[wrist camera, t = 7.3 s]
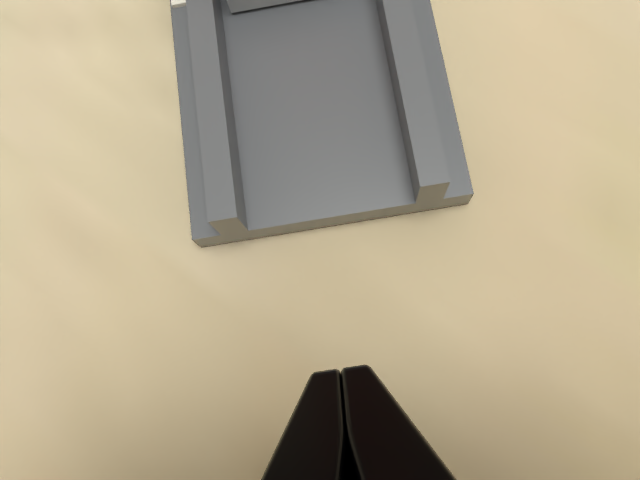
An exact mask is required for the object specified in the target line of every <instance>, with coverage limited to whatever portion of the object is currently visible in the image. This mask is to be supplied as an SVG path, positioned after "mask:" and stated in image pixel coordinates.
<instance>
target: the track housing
mask: <svg viewBox="0 0 640 480" xmlns="http://www.w3.org/2000/svg"><path fill="white" fill-rule="evenodd" d="M170 6H171V16H172V27H173V38H174V49H175V60H176V71H177V81H178V92H179V103H180V114H181V125H182V135H183V146H184V157H185V168H186V179H187V190H188V200H189V211H190V222H191V233H192V240H193V241H194V242H195V243H197V244H198V245H199V246H200V247H206V246H212V245H218V244H224V243H230V242H237V241H243V240H249V239H255V238H261V237H267V236H273V235H279V234H286V233H292V232H298V231H304V230H310V229H316V228H322V227H328V226H335V225H341V224H347V223H353V222H359V221H365V220H371V219H377V218H383V217H390V216H396V215H402V214H408V213H414V212H420V211H426V210H432V209H439V208H445V207H451V206H457V205H463V204H468V203H469V201H470V199H471V197H472V196H473V194H474V193H473V189H472V184H471V180H470V175H469V171H468V167H467V162H466V158H465V153H464V149H463V145H462V140H461V136H460V131H459V127H458V122H457V118H456V114H455V109H454V105H453V100H452V96H451V91H450V87H449V83H448V78H447V74H446V69H445V65H444V60H443V56H442V52H441V47H440V43H439V38H438V34H437V29H436V25H435V21H434V16H433V12H432V7H431V3H430V0H300V1H295V2H289V3H284V4H278V5H273V6H267V7H262V8H256V9H251V10H245V11H240V12H234V13H231V11H230V8H229V6H228V3H227V0H170Z"/></svg>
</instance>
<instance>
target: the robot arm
mask: <svg viewBox="0 0 640 480" xmlns="http://www.w3.org/2000/svg"><path fill="white" fill-rule="evenodd" d="M261 480H456V478H455V477H454V476H453V474H452V473H451V472H450V471H449V469H448V468H447V467H446V465H445V464H444V463H443V461H442V460H441V459H440V457H439V456H438V455H437V454H436V452H435V451H434V450H433V448H432V447H431V446H430V444H429V443H428V442H427V440H426V439H425V438H424V436H423V435H422V434H421V433H420V431H419V430H418V429H417V427H416V426H415V425H414V423H413V422H412V421H411V419H410V418H409V417H408V416H407V414H406V413H405V412H404V410H403V409H402V408H401V406H400V405H399V404H398V402H397V401H396V400H395V399H394V397H393V396H392V395H391V393H390V392H389V391H388V389H387V388H386V387H385V385H384V384H383V383H382V382H381V380H380V379H379V378H378V376H377V375H376V374H375V372H374V371H373V370H372V369H371V367H369V366H368V365H360V366H353V367H346V368H343V369H342V371H341V373H340V371H339V370H337V369H333V370H326V371H319V372H314V373H313V374H312V375H311V376H310V378H309V380H308V382H307V384H306V386H305V389H304V391H303V393H302V395H301V397H300V399H299V401H298V403H297V405H296V407H295V409H294V412H293V414H292V416H291V418H290V420H289V422H288V424H287V426H286V428H285V430H284V433H283V435H282V437H281V439H280V441H279V443H278V445H277V447H276V449H275V451H274V453H273V456H272V458H271V460H270V462H269V464H268V466H267V468H266V470H265V472H264V474H263V476H262V479H261Z"/></svg>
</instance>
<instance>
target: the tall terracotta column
mask: <svg viewBox="0 0 640 480" xmlns="http://www.w3.org/2000/svg"><path fill="white" fill-rule="evenodd" d="M295 1H300V0H227V3H228V6H229V8H230V11H231V13H234V12H240V11H245V10H251V9H256V8H262V7H267V6H273V5H278V4H284V3H289V2H295Z"/></svg>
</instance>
